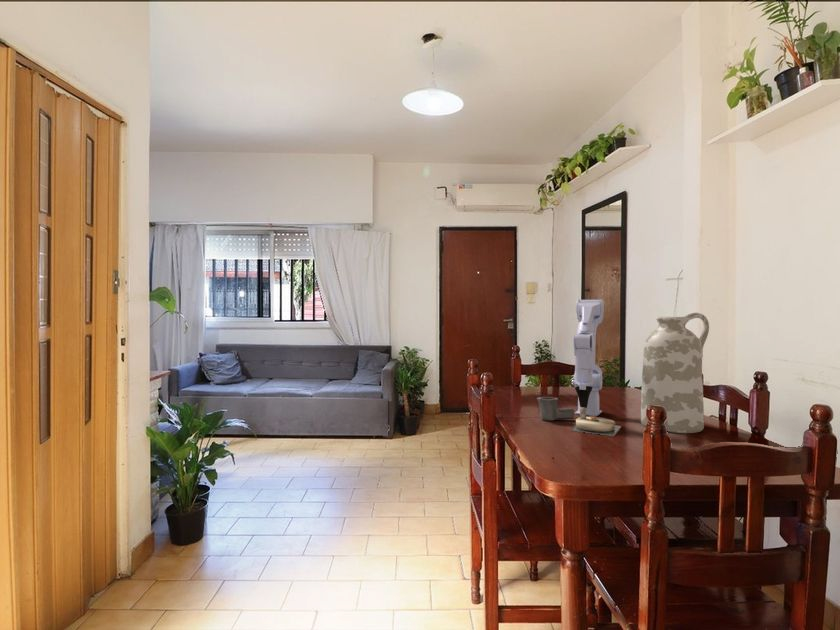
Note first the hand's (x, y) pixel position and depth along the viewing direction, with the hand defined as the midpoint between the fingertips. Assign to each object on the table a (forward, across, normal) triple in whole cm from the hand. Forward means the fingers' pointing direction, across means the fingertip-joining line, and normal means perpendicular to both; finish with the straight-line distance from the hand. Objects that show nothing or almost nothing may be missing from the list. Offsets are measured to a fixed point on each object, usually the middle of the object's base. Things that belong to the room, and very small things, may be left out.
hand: (583, 407), depth 163 cm
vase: (+5, -4, +28) cm, 29 cm away
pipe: (+5, 0, -10) cm, 11 cm away
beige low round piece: (+5, +8, +4) cm, 10 cm away
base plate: (+5, +8, +4) cm, 11 cm away
